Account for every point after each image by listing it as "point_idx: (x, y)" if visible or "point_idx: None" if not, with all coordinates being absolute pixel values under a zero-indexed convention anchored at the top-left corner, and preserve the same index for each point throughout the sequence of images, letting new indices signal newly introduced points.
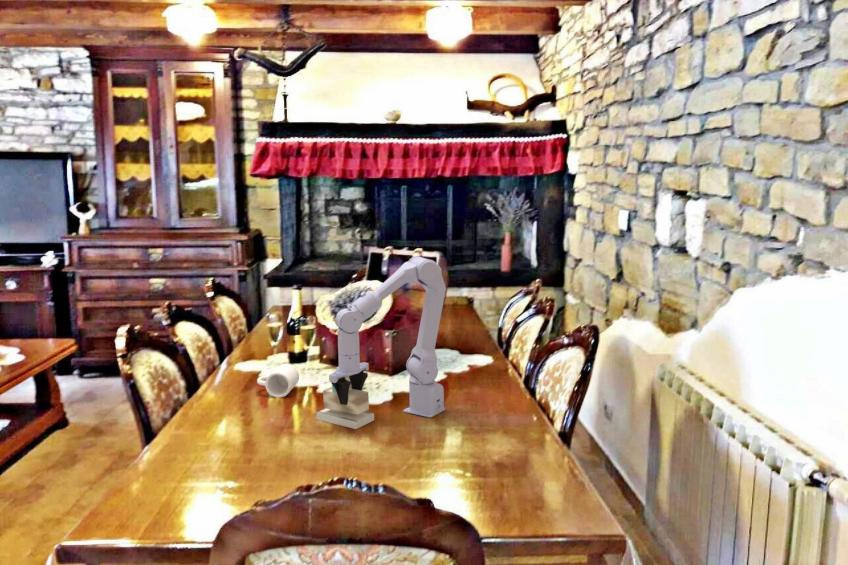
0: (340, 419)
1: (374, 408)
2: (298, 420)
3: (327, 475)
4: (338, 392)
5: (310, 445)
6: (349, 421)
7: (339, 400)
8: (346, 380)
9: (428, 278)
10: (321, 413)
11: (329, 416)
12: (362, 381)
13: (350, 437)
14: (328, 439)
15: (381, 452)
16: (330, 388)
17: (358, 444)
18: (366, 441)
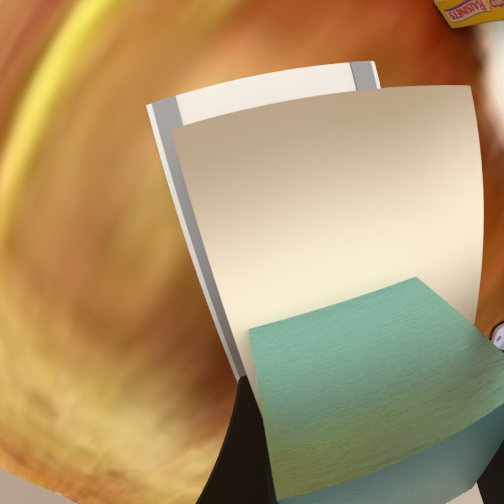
0: (217, 325)
1: (491, 212)
2: (69, 56)
3: (43, 483)
4: (232, 473)
5: (18, 379)
6: (237, 378)
7: (236, 400)
8: (455, 492)
9: None
10: (164, 152)
11: (185, 237)
12: (485, 488)
13: (173, 423)
14: (87, 388)
15: (194, 501)
16: (354, 134)
17: (167, 462)
18: (202, 462)
